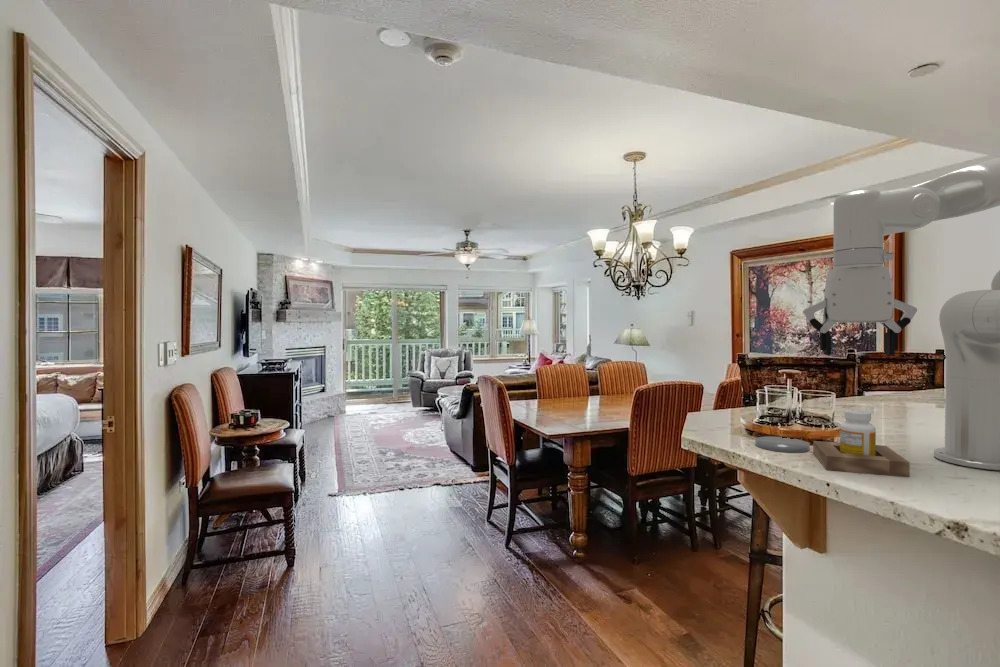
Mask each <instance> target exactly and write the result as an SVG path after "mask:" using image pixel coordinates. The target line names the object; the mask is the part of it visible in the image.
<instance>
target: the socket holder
mask: <svg viewBox="0 0 1000 667" xmlns="http://www.w3.org/2000/svg"><path fill="white" fill-rule="evenodd" d="M812 449H813V450H812V454H813V455H814V457H815V458H816V459H817V460H818V461H819V462H820V463H821V465H822V466H823V468H824V469H825V470H826V471H835V472H836V471H837V472H847V473H858V474H859V473H860V474H871V475H883V476H891V477H892V476H893V477H895V476H896V477H905V478H910V465H911V464H910V461H909V460H907V459H906V458H904V457H903V456H902V455H900V454H899V453H897V452H896V451H894V449H891V448H890V447H888V446H887V445H879V444H876V452H875V453H876V454H875V456H869V455H856V454H842V453H840V442H835V441H821V440H813V442H812Z"/></svg>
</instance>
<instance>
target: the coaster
mask: <svg viewBox="0 0 1000 667" xmlns="http://www.w3.org/2000/svg"><path fill="white" fill-rule="evenodd" d="M782 437H783V436H768V435H767V436H760V437H756V438H755V441H754V442H755V446H756V447H757V446H758V448H760V449H762V450H767V451H773V452H778V453H788V454H789V453H791V454H793V453H794V454H799V453H806V452H809V451H810V450H811V449H810V447H811V444H810V443H809V442H808V441H806V440H802V439H798V438H794V439H790V438H791V437H787V438H782Z"/></svg>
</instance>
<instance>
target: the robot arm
mask: <svg viewBox="0 0 1000 667" xmlns="http://www.w3.org/2000/svg"><path fill="white" fill-rule="evenodd" d="M999 206H1000V156H998V157H995V158H993V159H988V160H985V161H981V162H979V163H975V164H972V165H969V166H965V167H963V168H960V169H957V170H954V171H951V172H949V173H946V174H943V175H940V176H937V177H935V178H933V179H930V180H927V181H925V182H923V183H919V184H916V185H913V186H908V187H902V188H901V187H900V188H895V189H888V190H876V189H862V190H861V189H859V190H852V191H849V192H845V193H842V194H840V195H838V196H837V197H836V198H835V199H834V201H833V260H832V261H833V262H832V263H833V265H832V266H833V267H832V269H831V268H830V269H828V270H827V274H826V279H825V286H824V292H823V293H824V294H823V297H824V298H823V300H821V301H819V302H818V303H815V304H813V305H811V306H809V307H806V308H805V309H803V311H802V313H803V315H804V317H805V319H806V320H807V322H808V324H809V325H810V326H811V327H813V328H814V329H815V330H816V331H817V333H819V350H820V351H822V354H823V355H826V356H830V355H832V334H831V333H830V329H832V327H833V326H835V324H836V323H840V324H841V323H842V324H844V323H845V324H846V323H847V324H849V323H852V324H853V323H855V324H856V323H858V324H859V323H866V324H867V323H880V324H881V325H882V326H883V327H884V328H885V329H886V332H885V333H884V338H883V339H884V340H883V341H884V347H883V349H884V354H885V355H886V356H895V354H896V351H898V350H899V333H901V331H902V330H903V329H904V328H906V327H908V325H909V324H910V323H911V320H912V319H914V317H915V315H916V313H917V311H918V308H917V307H916V306H913V305H911V304H908V303H906V302H903V301H902V300H898V299H896V298H894V293H893V285H892V278H891V274H890V270H889V267H888V266H885V265H884V264H885V263H886V262H888V261H893V260H894V257H895V256H894V255H895V254H894V253H893V252H889V251H886V248H885V245H884V244H885V240H884V239H885V236H889V235H894V234H898V233H904V232H910V231H914V230H917V229H918V230H919V229H921V228H924V227H925V226H927V225H929V224H930V223H932V222H936V221H941V220H946V219H953V218H958V217H963V216H968V215H972V214H975V213H979V212H984V211H986V210H990V209H993V208H996V207H999ZM895 309H897V310H898V311H899V310H900V311H901V312H903V313H902V316H901V317H900V318H899V319H898V320H897V321H895V320H893V318H894V315H895V313H894V312H895ZM821 310H823V311H822V313H823V314H822V315H823V318H824V321H823V322H820V321H819V320H818V319H817V318H816V317H815V313H816V312H819V311H821ZM938 320H939V326H940V327H939V328H940V331H941V334H942V339H943V344H944V351H945V401H944V402H945V403H944V406H945V410H944V412H945V413H944V414H945V415H944V418H945V419H944V447H937V448H935V449H934V450H933V456H934V457H935V458H936V459H938V460H941V461H944V462H946V463H949V464H950V463H951V464H955V465H959V466H962V467H963V466H964V467H969V468H975V469H980V470H981V469H983V470H989V471H1000V269H999V270H998V271H997V272H996V273H995V275H994V276H993V278H992V280H991V289H981V290H980V289H979V290H970V291H964V292H961V293H958V294H956V295H953V296H952V297H950V298H948V300H946V301H945V302H944V303H943V305H942V307H941V309H940V312H939V318H938Z"/></svg>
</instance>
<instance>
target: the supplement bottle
mask: <svg viewBox="0 0 1000 667" xmlns="http://www.w3.org/2000/svg"><path fill="white" fill-rule="evenodd" d="M844 419H845V421H843V422H841V423H840V425H839V443H840V453H842V454H856V455H869V456H875V454H876V453H875V452H876V445H877V443H876V438H877V435H876V434H877V433H876V432H877V429H876V427H875V425H873V424H872V423H870V421H871V420H872V412H870V411H867V410H860V409H847V410H845V411H844Z"/></svg>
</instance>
